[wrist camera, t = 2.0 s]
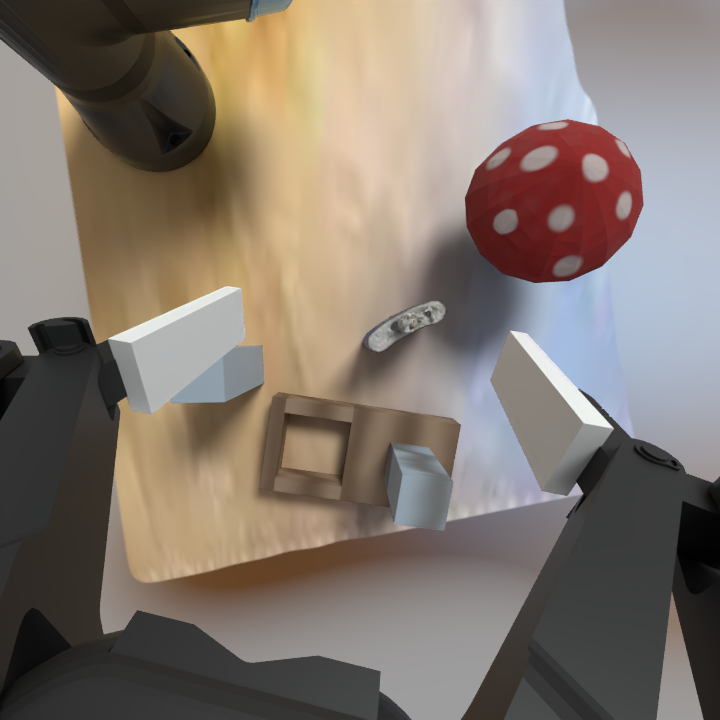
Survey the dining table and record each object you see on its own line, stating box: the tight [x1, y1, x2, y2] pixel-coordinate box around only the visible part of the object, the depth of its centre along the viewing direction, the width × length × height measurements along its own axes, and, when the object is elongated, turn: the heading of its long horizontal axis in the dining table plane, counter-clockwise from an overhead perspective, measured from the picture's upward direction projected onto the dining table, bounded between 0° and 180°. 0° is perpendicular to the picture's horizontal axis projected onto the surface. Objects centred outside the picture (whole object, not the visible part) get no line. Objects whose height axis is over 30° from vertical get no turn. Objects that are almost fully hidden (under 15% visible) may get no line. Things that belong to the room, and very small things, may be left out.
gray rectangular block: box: [171, 346, 264, 403], centre depth 33 cm, size 5×5×12 cm
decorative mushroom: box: [465, 119, 643, 283], centre depth 31 cm, size 16×16×15 cm
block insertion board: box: [260, 392, 461, 531], centre depth 34 cm, size 24×12×12 cm, turn 81°
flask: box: [363, 300, 447, 353], centre depth 34 cm, size 9×3×11 cm, turn 118°
